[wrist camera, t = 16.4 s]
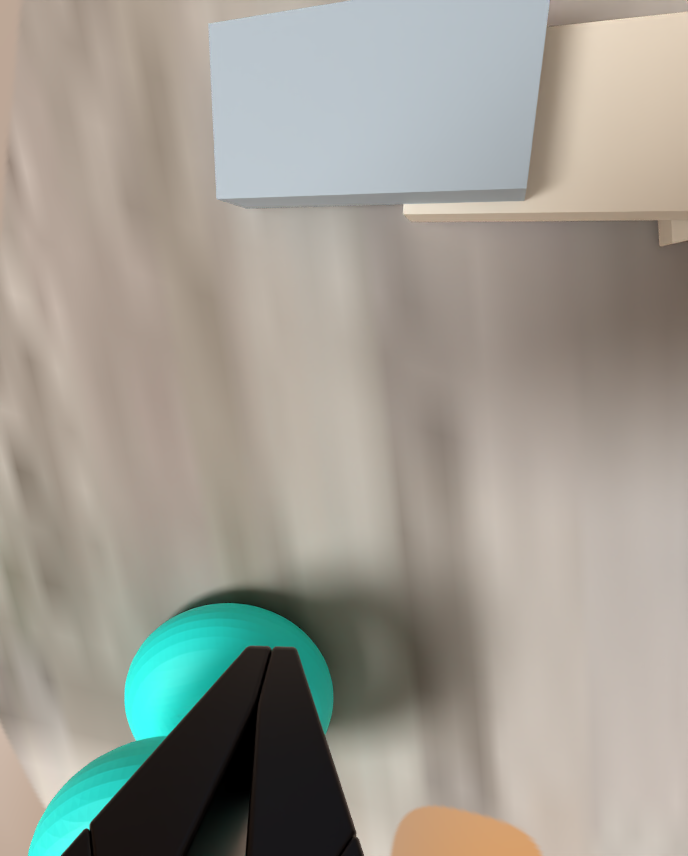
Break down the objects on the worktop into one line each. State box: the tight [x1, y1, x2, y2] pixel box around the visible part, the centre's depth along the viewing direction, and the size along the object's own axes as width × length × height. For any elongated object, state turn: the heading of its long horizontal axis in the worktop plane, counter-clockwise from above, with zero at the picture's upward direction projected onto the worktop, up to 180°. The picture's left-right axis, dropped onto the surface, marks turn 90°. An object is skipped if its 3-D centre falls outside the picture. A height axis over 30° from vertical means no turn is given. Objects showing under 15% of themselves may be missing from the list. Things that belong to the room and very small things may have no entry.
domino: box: [208, 0, 550, 208], centre depth 15 cm, size 2×5×10 cm
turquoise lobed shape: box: [28, 603, 333, 856], centre depth 20 cm, size 10×10×10 cm
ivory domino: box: [403, 12, 688, 222], centre depth 15 cm, size 2×5×10 cm
